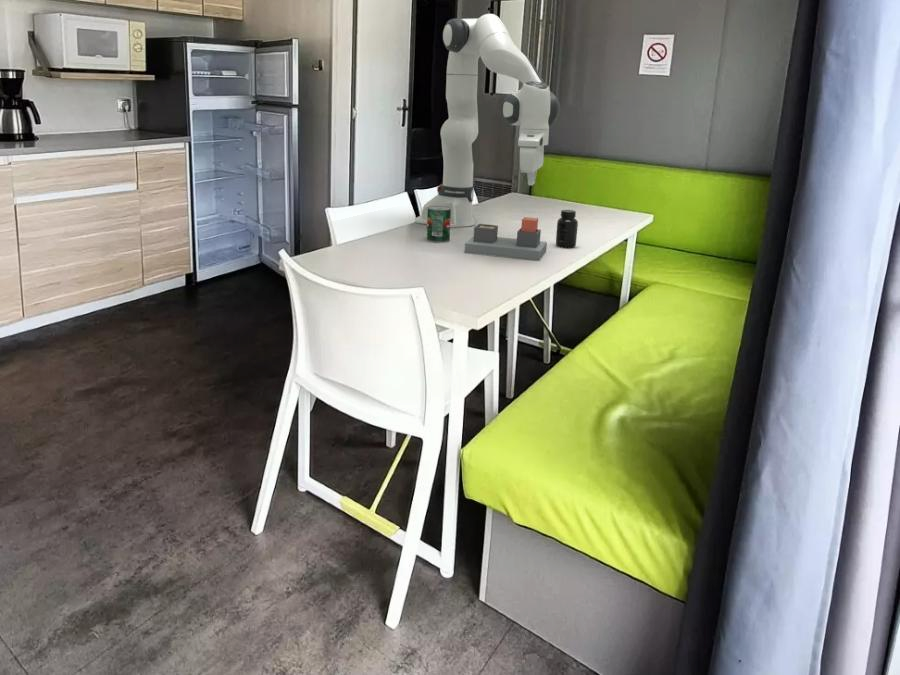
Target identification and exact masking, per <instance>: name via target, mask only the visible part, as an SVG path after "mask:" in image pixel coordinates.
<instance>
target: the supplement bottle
mask: <svg viewBox="0 0 900 675" xmlns="http://www.w3.org/2000/svg"><path fill="white" fill-rule="evenodd" d="M576 214H577V213H576V210H574V209H561V211H560V217H559V218H558V219H557V223H556V235H555V245H556V247H558V248H561V247H562V248H563V249H573V248H576V245H577V235H578V225H579V224H578V223H579V222H578V220H577V218H576V217H577V216H576Z"/></svg>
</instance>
